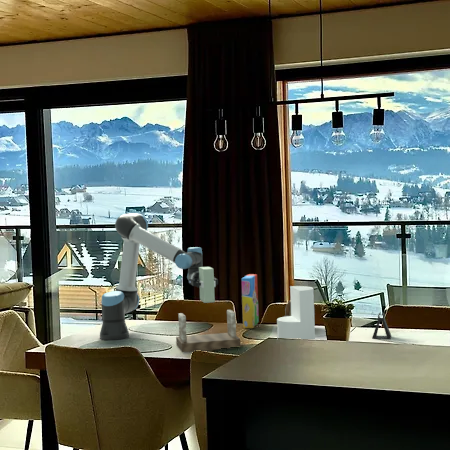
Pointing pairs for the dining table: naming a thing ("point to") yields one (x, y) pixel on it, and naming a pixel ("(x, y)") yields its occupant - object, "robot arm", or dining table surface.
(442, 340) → the dining table surface
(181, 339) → the marble base with posts
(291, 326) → the white l-shaped block
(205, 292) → the book
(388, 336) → the phone stand
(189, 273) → the robot arm
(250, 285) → the game box
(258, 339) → the dining table surface
